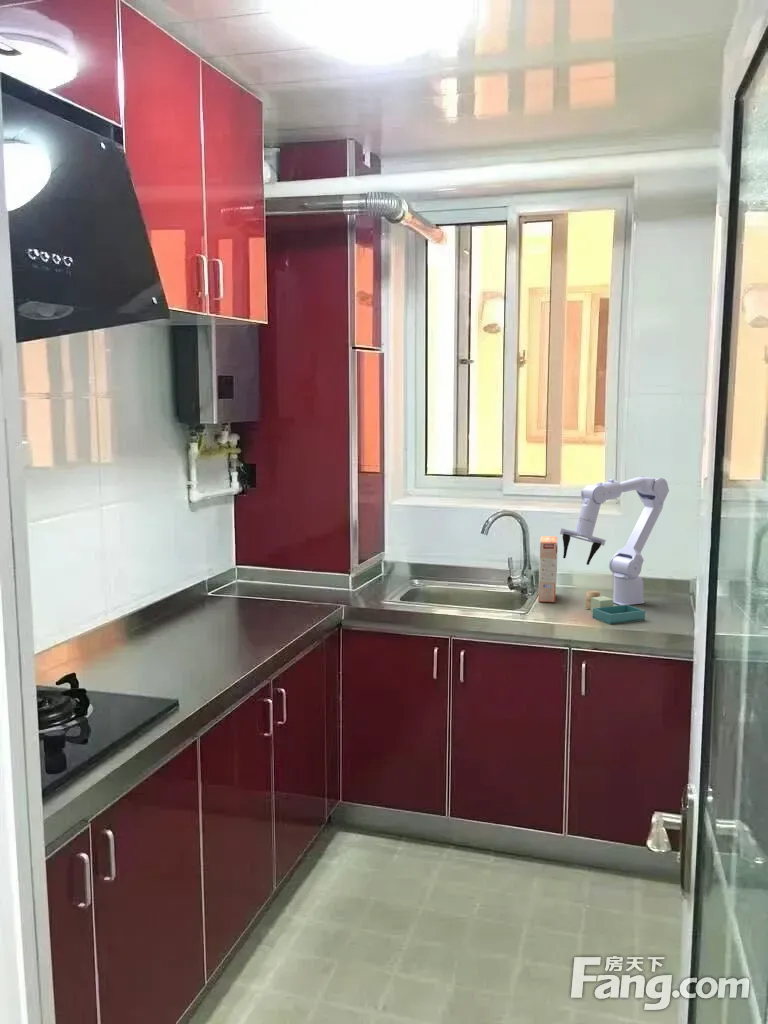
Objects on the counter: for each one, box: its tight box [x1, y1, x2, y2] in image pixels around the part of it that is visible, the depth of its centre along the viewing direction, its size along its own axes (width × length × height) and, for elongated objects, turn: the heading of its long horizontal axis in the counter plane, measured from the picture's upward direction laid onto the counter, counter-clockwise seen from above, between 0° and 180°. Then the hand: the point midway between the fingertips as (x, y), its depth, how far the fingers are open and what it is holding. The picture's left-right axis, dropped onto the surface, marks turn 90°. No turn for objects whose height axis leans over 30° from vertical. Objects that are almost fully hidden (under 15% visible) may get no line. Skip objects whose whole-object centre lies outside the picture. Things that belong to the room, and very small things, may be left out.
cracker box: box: [538, 535, 558, 603], centre depth 302 cm, size 14×6×21 cm, turn 168°
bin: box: [592, 604, 646, 625], centre depth 274 cm, size 13×9×3 cm
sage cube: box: [590, 595, 614, 614], centre depth 281 cm, size 5×5×5 cm
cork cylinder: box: [585, 590, 601, 610], centre depth 288 cm, size 4×4×6 cm
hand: (575, 561), depth 284 cm, fingers open, 7 cm apart
